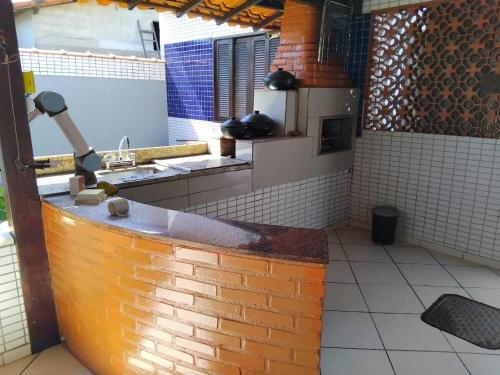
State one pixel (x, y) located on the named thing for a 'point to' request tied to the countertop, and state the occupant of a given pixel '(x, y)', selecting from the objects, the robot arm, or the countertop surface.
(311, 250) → the countertop surface
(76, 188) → the small box
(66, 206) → the countertop surface
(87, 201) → the birch base slab
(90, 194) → the sage top slab
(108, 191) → the potato
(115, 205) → the ceramic mug
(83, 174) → the robot arm
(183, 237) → the countertop surface
